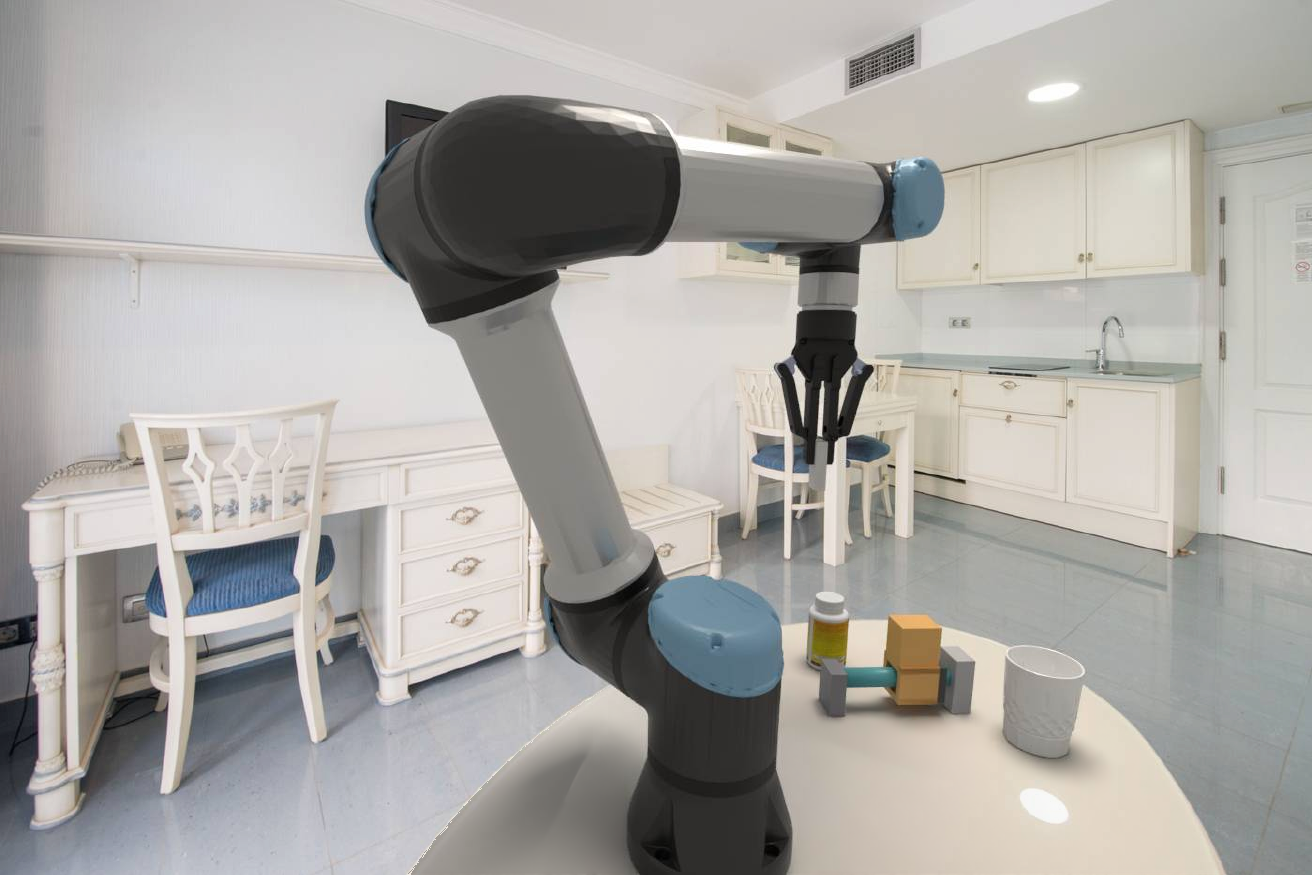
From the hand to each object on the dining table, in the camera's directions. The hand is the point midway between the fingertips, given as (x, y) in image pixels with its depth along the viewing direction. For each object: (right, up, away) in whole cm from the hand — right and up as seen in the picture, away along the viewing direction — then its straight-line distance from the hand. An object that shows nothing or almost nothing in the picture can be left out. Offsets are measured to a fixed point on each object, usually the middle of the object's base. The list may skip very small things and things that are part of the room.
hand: (816, 488), depth 86 cm
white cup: (+23, -29, -11) cm, 39 cm away
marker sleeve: (+11, -26, -4) cm, 28 cm away
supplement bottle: (+3, -26, +6) cm, 27 cm away
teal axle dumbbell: (+9, -28, -4) cm, 29 cm away
